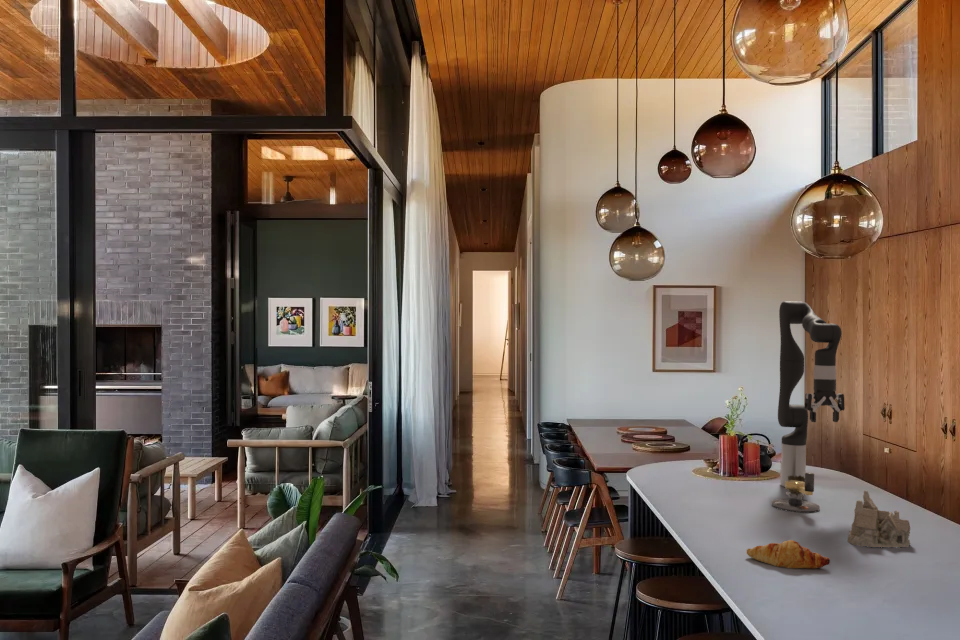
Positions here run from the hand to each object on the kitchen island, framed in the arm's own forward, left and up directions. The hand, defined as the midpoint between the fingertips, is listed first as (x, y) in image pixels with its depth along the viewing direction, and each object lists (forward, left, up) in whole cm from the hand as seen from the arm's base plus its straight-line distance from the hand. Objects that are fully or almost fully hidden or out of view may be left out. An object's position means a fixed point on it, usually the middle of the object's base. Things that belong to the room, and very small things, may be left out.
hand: (824, 421), depth 279 cm
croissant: (+66, -50, -31) cm, 88 cm away
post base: (+4, -13, -30) cm, 33 cm away
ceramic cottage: (+49, -11, -30) cm, 58 cm away
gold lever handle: (+8, -13, -24) cm, 28 cm away
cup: (-10, -4, -30) cm, 32 cm away
